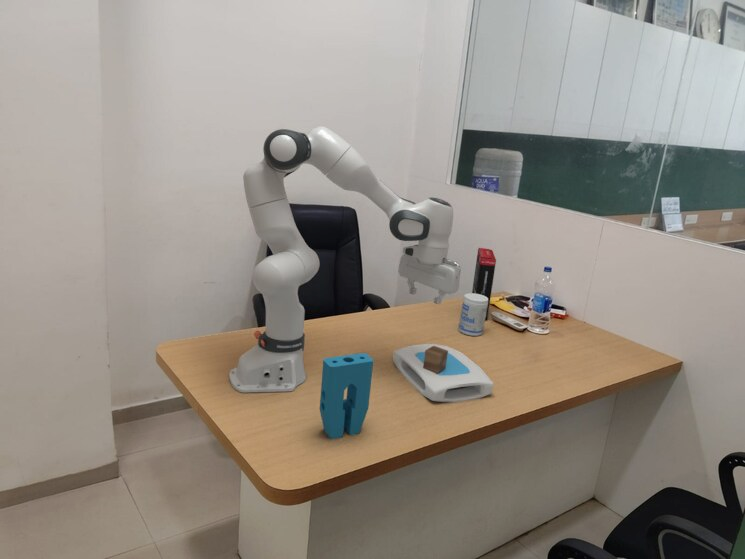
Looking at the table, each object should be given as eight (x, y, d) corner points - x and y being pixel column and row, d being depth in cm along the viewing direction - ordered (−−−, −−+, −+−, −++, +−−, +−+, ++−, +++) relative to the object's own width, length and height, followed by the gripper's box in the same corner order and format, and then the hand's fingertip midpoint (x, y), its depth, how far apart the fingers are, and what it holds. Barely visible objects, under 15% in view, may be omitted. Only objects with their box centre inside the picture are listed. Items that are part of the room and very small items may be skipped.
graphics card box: (487, 321, 228) (498, 258, 220) (471, 319, 228) (481, 256, 220) (483, 307, 244) (493, 249, 236) (468, 305, 245) (477, 247, 237)
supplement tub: (454, 332, 212) (460, 296, 208) (462, 325, 220) (467, 291, 216) (478, 339, 208) (484, 302, 204) (485, 331, 216) (491, 296, 212)
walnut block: (437, 373, 163) (439, 355, 161) (423, 368, 165) (425, 350, 164) (445, 368, 166) (448, 350, 165) (431, 363, 169) (433, 345, 168)
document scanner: (445, 358, 189) (448, 341, 187) (492, 397, 165) (495, 379, 163) (391, 363, 181) (393, 346, 179) (431, 406, 156) (434, 386, 154)
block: (358, 421, 144) (365, 352, 138) (367, 431, 140) (374, 360, 134) (316, 430, 138) (322, 358, 133) (324, 440, 134) (330, 367, 128)
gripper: (467, 262, 155) (459, 307, 159) (411, 244, 167) (405, 286, 171) (455, 265, 150) (447, 311, 154) (398, 246, 163) (392, 290, 167)
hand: (424, 298), depth 163 cm, fingers open, 8 cm apart
